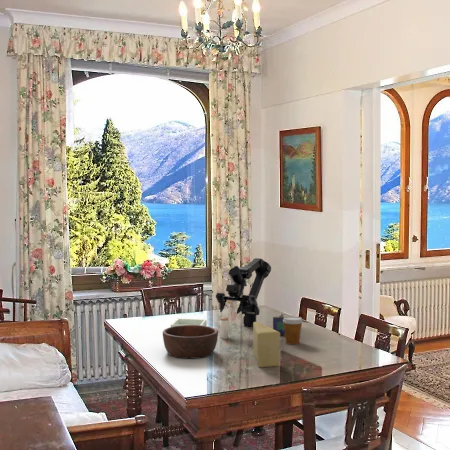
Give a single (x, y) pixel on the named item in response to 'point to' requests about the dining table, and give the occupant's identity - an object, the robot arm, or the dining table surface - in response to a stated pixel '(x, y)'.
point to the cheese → (266, 345)
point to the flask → (279, 324)
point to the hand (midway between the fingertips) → (228, 312)
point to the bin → (189, 322)
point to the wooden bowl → (190, 341)
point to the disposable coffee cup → (292, 329)
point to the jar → (224, 327)
